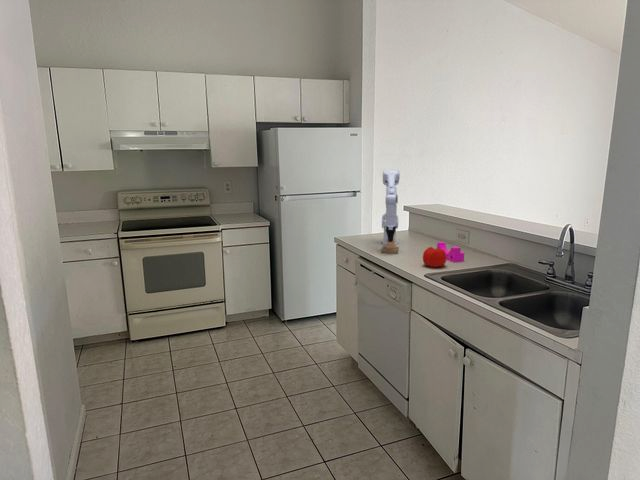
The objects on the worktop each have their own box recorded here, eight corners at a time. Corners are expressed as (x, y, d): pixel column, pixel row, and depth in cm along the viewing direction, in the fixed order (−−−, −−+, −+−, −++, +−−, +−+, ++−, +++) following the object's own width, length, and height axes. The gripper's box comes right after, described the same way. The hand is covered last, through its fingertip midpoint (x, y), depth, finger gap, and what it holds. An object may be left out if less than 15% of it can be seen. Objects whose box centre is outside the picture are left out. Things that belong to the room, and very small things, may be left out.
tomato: (450, 267, 219) (451, 249, 217) (429, 269, 215) (430, 251, 213) (437, 262, 229) (438, 245, 227) (417, 264, 225) (418, 247, 223)
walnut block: (382, 251, 256) (382, 246, 255) (398, 251, 254) (398, 246, 254) (381, 254, 247) (381, 249, 247) (398, 255, 246) (398, 250, 245)
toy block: (463, 261, 231) (464, 247, 229) (453, 262, 229) (454, 248, 227) (446, 255, 245) (447, 241, 243) (436, 256, 242) (437, 242, 241)
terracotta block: (386, 246, 253) (387, 238, 252) (395, 247, 252) (395, 238, 251) (386, 248, 249) (386, 240, 248) (394, 249, 248) (394, 240, 246)
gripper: (384, 214, 254) (383, 237, 257) (383, 218, 240) (382, 242, 243) (396, 214, 253) (396, 237, 256) (396, 218, 239) (395, 243, 242)
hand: (390, 240), depth 249 cm, fingers open, 7 cm apart
